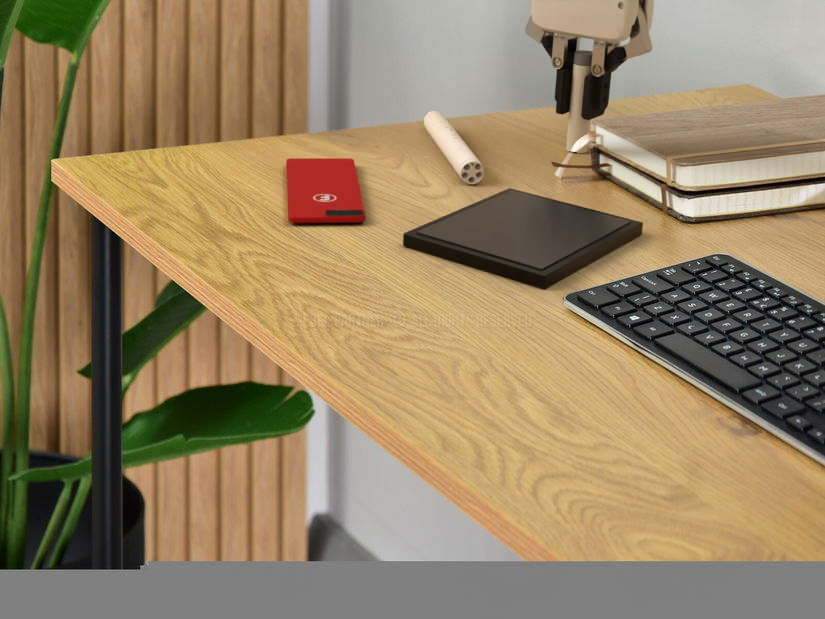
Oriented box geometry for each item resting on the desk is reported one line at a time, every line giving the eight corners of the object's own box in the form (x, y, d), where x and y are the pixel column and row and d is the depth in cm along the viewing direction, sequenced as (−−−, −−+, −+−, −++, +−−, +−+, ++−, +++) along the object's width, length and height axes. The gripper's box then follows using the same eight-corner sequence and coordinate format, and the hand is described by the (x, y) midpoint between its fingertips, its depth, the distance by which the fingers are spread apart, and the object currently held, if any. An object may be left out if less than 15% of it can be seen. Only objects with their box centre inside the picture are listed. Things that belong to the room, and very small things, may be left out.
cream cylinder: (419, 126, 116) (419, 102, 115) (440, 126, 117) (441, 102, 116) (459, 185, 100) (461, 158, 99) (484, 184, 100) (485, 157, 100)
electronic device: (286, 163, 104) (288, 223, 90) (286, 157, 103) (288, 216, 90) (353, 163, 104) (365, 223, 91) (353, 157, 104) (365, 216, 90)
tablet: (508, 199, 97) (509, 186, 97) (642, 234, 91) (643, 221, 90) (402, 246, 87) (403, 231, 87) (544, 289, 80) (545, 274, 80)
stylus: (572, 146, 112) (581, 49, 108) (591, 150, 111) (601, 52, 107) (561, 150, 110) (570, 52, 107) (580, 154, 109) (589, 56, 106)
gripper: (705, -94, 100) (678, 122, 108) (542, -109, 109) (528, 91, 116) (664, -88, 95) (639, 139, 102) (496, -105, 103) (484, 106, 111)
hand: (580, 112), depth 109 cm, fingers closed on stylus, 2 cm apart
